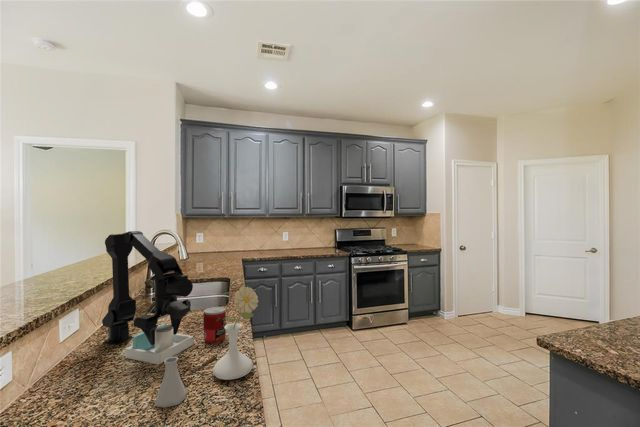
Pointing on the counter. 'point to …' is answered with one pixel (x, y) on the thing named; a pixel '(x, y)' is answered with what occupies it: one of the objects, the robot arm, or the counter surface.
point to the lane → (151, 356)
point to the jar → (163, 337)
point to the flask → (171, 386)
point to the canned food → (214, 324)
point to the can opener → (205, 363)
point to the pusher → (142, 341)
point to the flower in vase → (235, 361)
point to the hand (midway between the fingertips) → (164, 339)
